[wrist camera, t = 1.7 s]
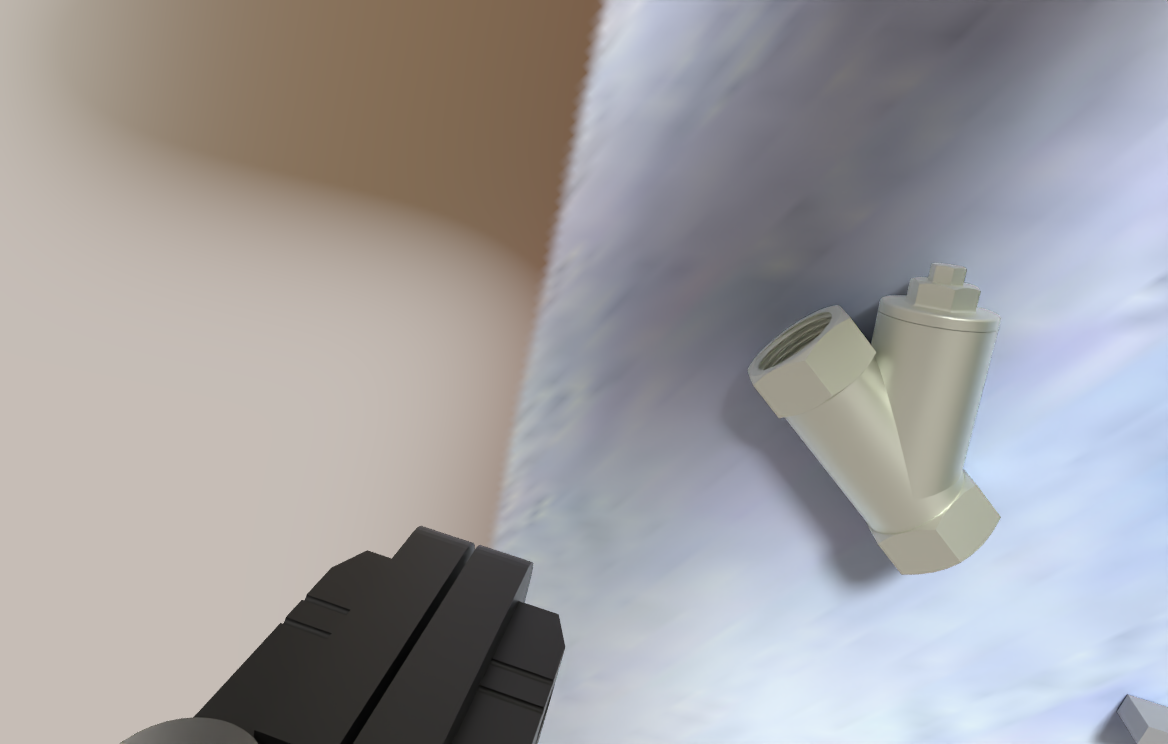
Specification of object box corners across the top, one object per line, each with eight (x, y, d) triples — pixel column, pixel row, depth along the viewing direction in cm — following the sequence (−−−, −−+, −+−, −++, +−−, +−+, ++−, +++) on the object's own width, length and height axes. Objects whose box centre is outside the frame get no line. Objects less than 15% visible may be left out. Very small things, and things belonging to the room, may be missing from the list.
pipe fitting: (922, 229, 24) (744, 357, 26) (964, 243, 20) (751, 390, 22) (1064, 424, 25) (882, 534, 27) (1129, 472, 21) (912, 595, 23)
